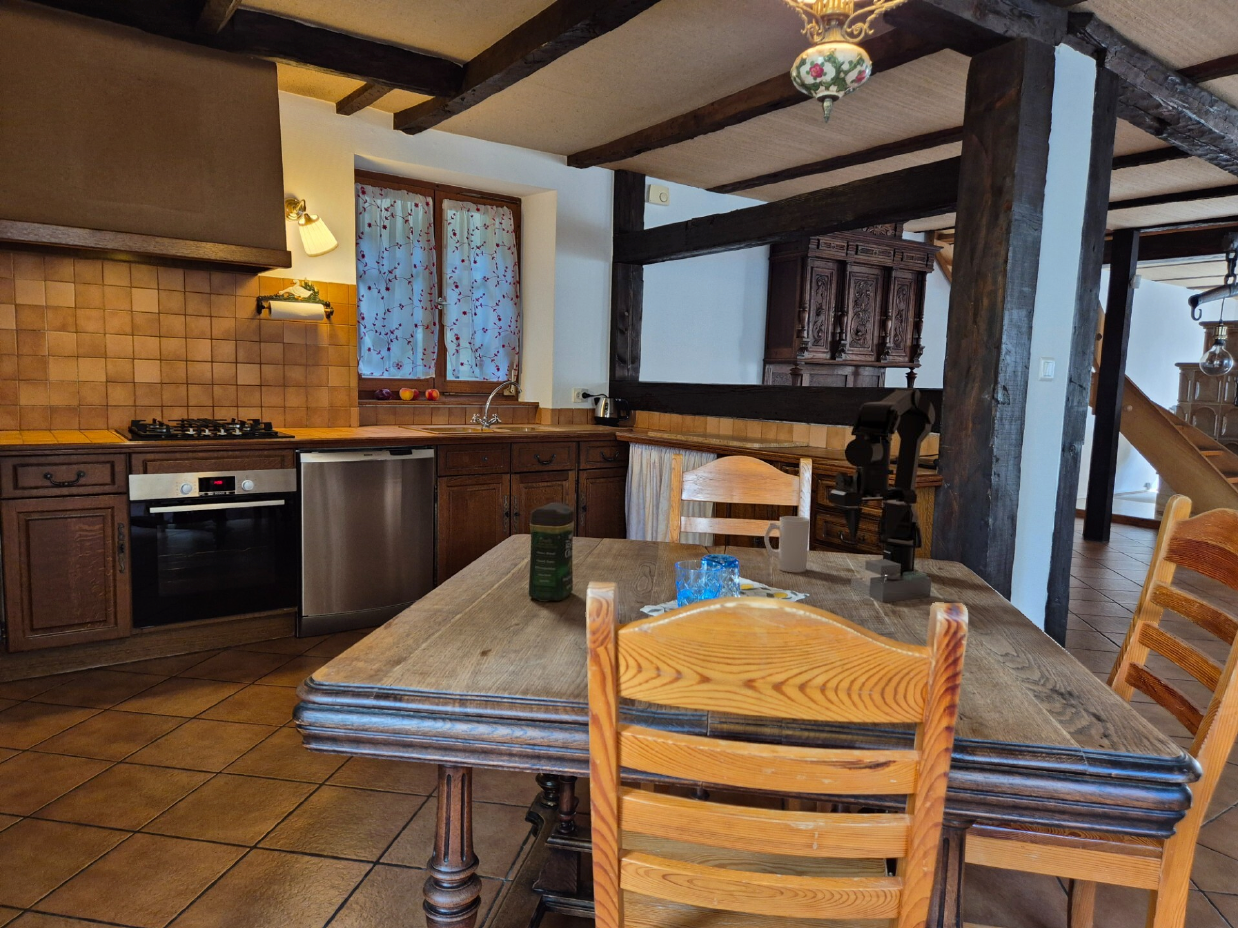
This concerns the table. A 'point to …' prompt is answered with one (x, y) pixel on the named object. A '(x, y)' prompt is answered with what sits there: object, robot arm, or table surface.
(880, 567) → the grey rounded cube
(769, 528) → the mug
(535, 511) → the coffee jar
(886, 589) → the knobbed block assembly
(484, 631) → the table surface
